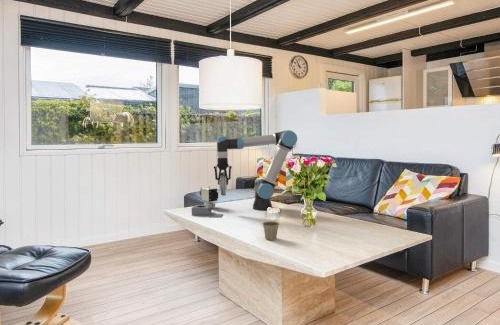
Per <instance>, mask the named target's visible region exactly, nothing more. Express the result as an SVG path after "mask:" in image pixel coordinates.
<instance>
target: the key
mask: <svg viewBox="0 0 500 325" xmlns="http://www.w3.org/2000/svg"><path fill="white" fill-rule="evenodd" d="M220 175H221V176H220V180H221V189H220V196H222V197H223V196H227V193H226V192H227V189H225V180H226V177H225V172H224V171H221V174H220Z"/></svg>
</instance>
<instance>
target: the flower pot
mask: <svg viewBox="0 0 500 325" xmlns="http://www.w3.org/2000/svg"><path fill="white" fill-rule="evenodd" d="M262 226H263V232H264V238H265V240H266V241H269V240H270V241H276V240H277V237H278V236H277V235H278V229H279V226H280V223H279V222H276V221H264V222H263V223H262ZM275 239H276V240H275Z"/></svg>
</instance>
